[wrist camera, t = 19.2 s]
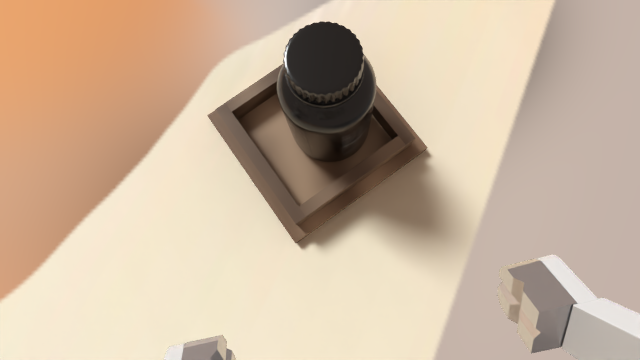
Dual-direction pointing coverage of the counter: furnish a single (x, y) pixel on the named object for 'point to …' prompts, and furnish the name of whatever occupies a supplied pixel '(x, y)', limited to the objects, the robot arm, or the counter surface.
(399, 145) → the walnut tray
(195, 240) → the counter surface
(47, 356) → the counter surface
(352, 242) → the counter surface
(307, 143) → the supplement bottle
